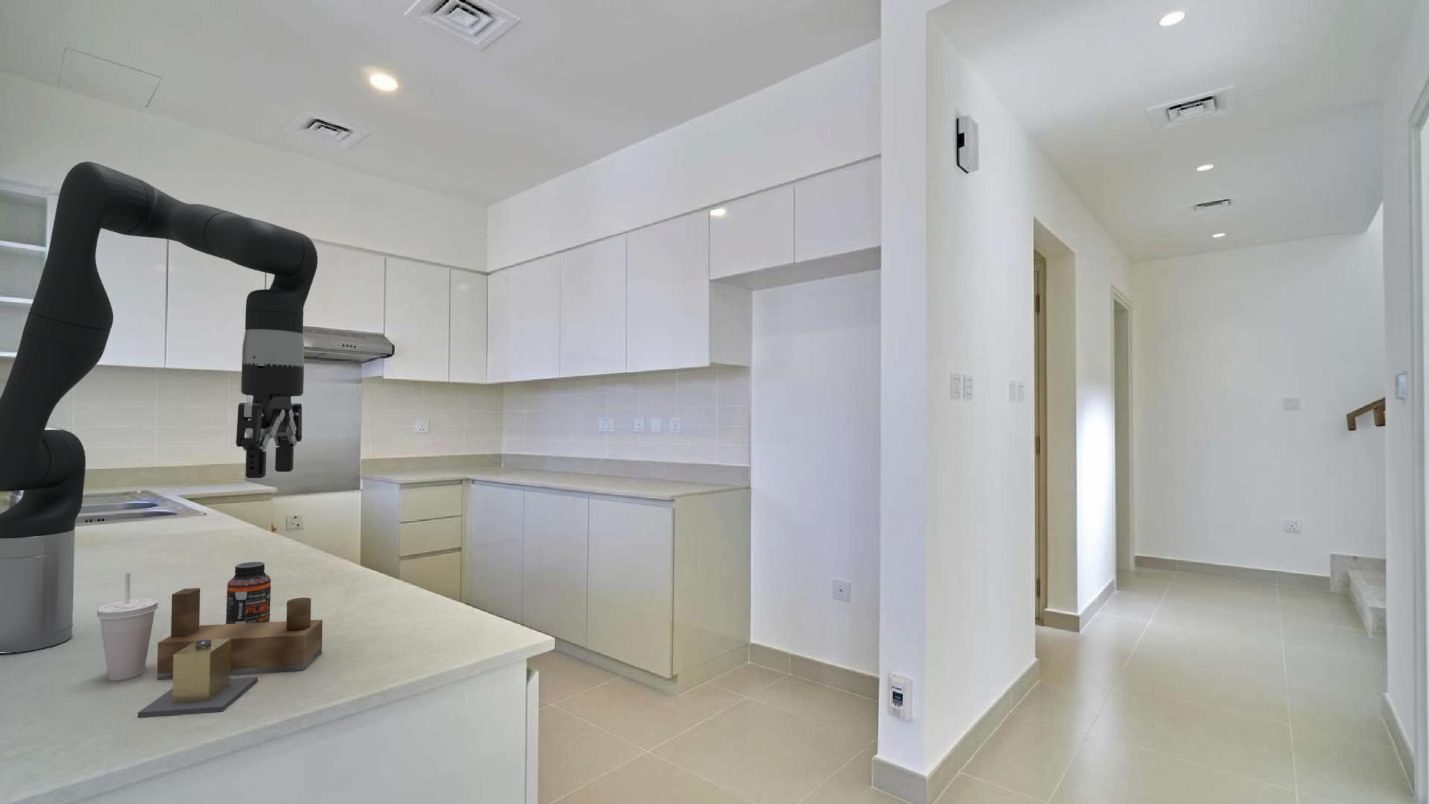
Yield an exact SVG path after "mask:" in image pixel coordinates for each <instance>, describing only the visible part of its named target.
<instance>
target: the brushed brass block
mask: <svg viewBox="0 0 1429 804" xmlns="http://www.w3.org/2000/svg"><path fill="white" fill-rule="evenodd" d="M230 659H231V639H215V640H209V639H206V640H197V641H195V642H193V643H192V644H190V645H188V646H187V647H185V648H183V649H182V650H180V651H178V652H177V653H175V654H174V655H173V679H172V688H173V699H172V703H182V702H197V701H209V700H211V699H212V698H213V697H214V696H216V695H217V694H218V693H219V692H221V691H222V690H223V689H224V688H226V687H227V686H228V685H229V684H230V679H231V675H230Z"/></svg>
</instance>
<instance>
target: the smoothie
mask: <svg viewBox="0 0 1429 804" xmlns="http://www.w3.org/2000/svg"><path fill="white" fill-rule="evenodd" d="M131 577H132V574H131V572H125V580H124V582H125V583H124V584H125V585H124V600H120V601H115V602H111V603H108V604H104V605H102V606H100V607H99V608H97V611H96V618H97V619H99V621H100V630H101V634H102V635H101V636H102V643H103V650H104V656H105V664H106V672H107V679H108V680H109V681H123V680H129V679H134V678H136V677H139V676H141V675H144V673H145V669H146V663H147V659H148V657H147V656H148V652H149V646H150V641H151V635H152V631H153V623H154V618H155V611H157V610H158V609H159V605H158V603H159V602H158V600H157V599H153V598H134V599H131V585H132V582H131V581H132V580H131Z"/></svg>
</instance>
